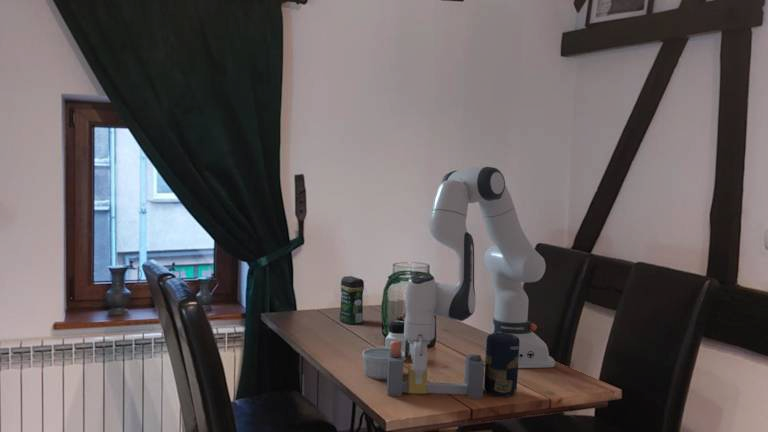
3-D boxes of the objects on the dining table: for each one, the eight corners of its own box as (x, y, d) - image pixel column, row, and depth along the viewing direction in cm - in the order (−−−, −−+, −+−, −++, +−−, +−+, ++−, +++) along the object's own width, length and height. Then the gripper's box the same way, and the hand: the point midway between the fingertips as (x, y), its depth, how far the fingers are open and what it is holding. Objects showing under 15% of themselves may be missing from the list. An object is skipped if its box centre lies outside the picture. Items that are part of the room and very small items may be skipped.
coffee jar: (336, 320, 289) (337, 275, 287) (352, 318, 294) (353, 274, 292) (349, 325, 281) (351, 279, 280) (365, 323, 286) (367, 278, 285)
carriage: (424, 387, 208) (425, 364, 208) (426, 393, 203) (427, 370, 202) (407, 386, 208) (408, 364, 207) (408, 393, 202) (409, 369, 202)
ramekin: (375, 365, 229) (376, 344, 228) (411, 373, 222) (412, 351, 222) (353, 375, 218) (354, 353, 217) (390, 384, 211) (391, 361, 210)
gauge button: (400, 354, 206) (401, 340, 206) (401, 357, 203) (402, 343, 202) (390, 353, 206) (390, 340, 206) (390, 356, 203) (390, 343, 202)
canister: (498, 385, 213) (501, 326, 212) (523, 394, 206) (526, 333, 205) (476, 391, 207) (480, 331, 206) (502, 400, 200) (505, 338, 199)
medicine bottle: (405, 360, 236) (406, 325, 235) (384, 358, 237) (385, 323, 236) (409, 355, 243) (410, 320, 242) (388, 353, 244) (390, 318, 243)
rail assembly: (477, 388, 210) (479, 351, 209) (482, 398, 201) (484, 360, 200) (387, 385, 210) (388, 348, 209) (387, 395, 201) (389, 357, 200)
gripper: (433, 340, 194) (431, 390, 195) (427, 323, 214) (425, 368, 215) (410, 340, 193) (408, 389, 195) (406, 322, 214) (404, 367, 215)
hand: (417, 378), depth 205 cm, fingers open, 8 cm apart
